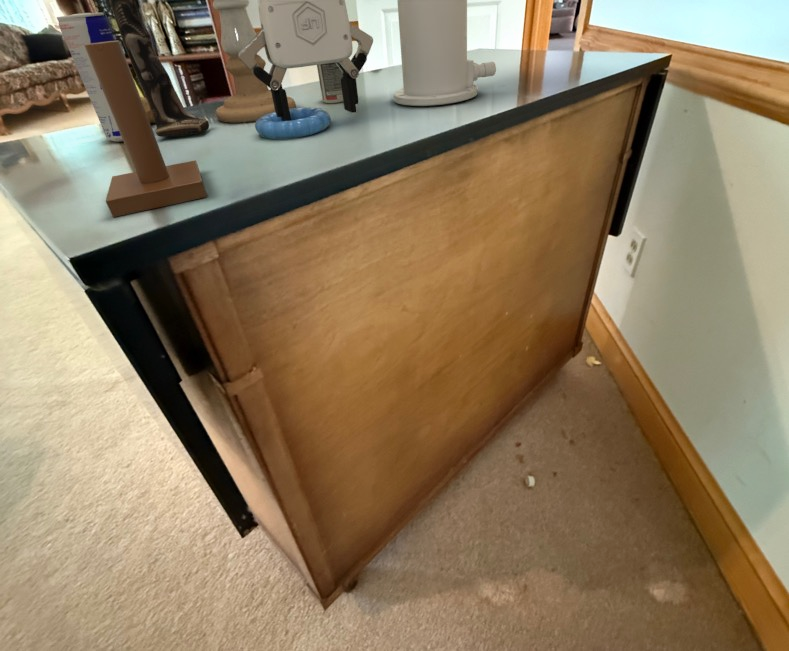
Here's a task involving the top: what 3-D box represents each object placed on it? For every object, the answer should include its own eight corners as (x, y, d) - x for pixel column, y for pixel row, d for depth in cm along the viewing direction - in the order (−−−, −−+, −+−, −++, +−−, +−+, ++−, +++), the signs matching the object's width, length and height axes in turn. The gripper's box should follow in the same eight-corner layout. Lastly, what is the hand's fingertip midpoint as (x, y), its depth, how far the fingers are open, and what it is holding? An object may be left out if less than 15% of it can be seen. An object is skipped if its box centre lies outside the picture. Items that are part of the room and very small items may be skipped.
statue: (204, 136, 64) (146, -51, 52) (152, 142, 63) (82, -44, 52) (211, 129, 67) (158, -48, 55) (162, 134, 67) (98, -42, 55)
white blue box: (133, 142, 64) (81, 12, 56) (99, 143, 66) (43, 17, 57) (157, 132, 69) (113, 10, 60) (125, 133, 70) (77, 14, 61)
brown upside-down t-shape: (200, 174, 49) (154, 34, 41) (207, 197, 43) (154, 37, 35) (118, 191, 47) (54, 46, 39) (113, 217, 40) (35, 52, 33)
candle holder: (243, 106, 80) (205, -43, 68) (309, 104, 76) (280, -54, 65) (201, 124, 70) (149, -45, 59) (273, 122, 67) (233, -58, 55)
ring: (319, 118, 67) (317, 103, 65) (340, 130, 59) (337, 114, 58) (252, 130, 64) (248, 115, 63) (265, 145, 57) (261, 127, 55)
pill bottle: (357, 98, 77) (349, 39, 72) (334, 104, 74) (325, 43, 69) (339, 96, 80) (331, 39, 75) (317, 102, 77) (307, 43, 72)
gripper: (215, -50, 46) (258, 133, 56) (376, -60, 51) (390, 110, 61) (208, -43, 52) (249, 122, 62) (354, -52, 57) (370, 102, 67)
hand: (319, 116), depth 62 cm, fingers open, 8 cm apart
